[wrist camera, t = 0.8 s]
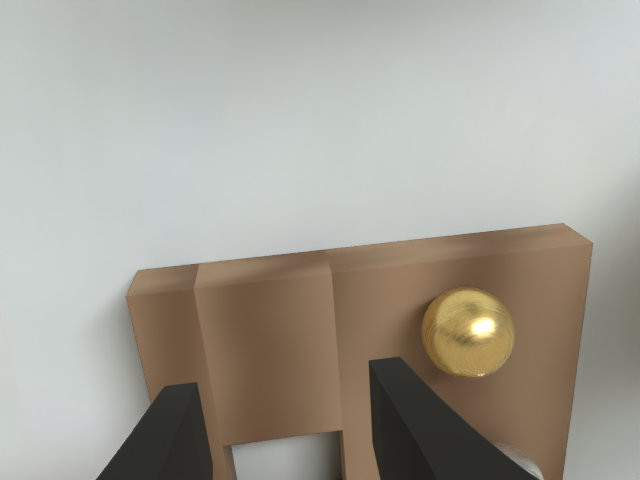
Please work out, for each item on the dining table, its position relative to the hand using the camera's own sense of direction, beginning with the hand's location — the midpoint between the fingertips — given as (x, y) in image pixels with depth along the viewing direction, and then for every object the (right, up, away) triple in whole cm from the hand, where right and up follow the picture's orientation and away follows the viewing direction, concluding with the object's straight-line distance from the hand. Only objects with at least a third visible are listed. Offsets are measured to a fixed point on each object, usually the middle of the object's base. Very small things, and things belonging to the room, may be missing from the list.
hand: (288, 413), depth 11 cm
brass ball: (+5, 0, +8) cm, 9 cm away
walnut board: (+3, -5, +13) cm, 14 cm away
